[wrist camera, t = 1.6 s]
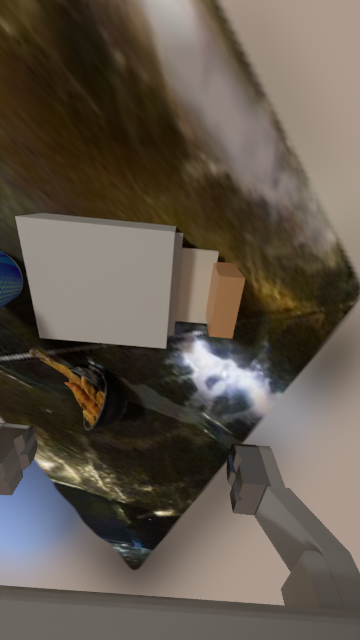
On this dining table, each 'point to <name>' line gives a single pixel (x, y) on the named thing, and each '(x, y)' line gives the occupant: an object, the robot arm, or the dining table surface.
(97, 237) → the block
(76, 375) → the fried shrimp in bowl
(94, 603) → the robot arm
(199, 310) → the tan-tipped white bar
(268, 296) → the dining table surface
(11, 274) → the beer can
